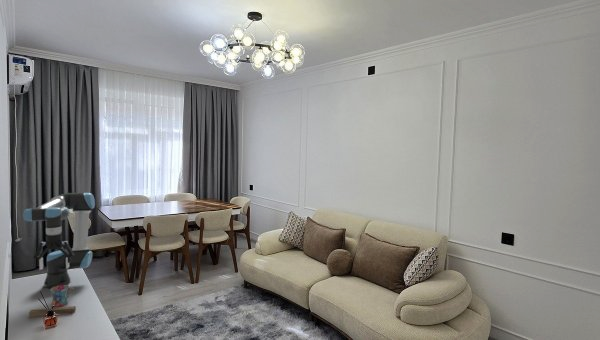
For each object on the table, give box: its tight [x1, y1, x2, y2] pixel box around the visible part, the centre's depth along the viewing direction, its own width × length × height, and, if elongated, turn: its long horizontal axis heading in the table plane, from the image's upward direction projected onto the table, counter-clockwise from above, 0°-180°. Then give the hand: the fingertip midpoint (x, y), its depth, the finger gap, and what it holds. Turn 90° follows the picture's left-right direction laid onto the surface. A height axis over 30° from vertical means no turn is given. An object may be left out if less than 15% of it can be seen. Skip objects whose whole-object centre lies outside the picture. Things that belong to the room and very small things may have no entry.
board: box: [28, 305, 77, 318], centre depth 191 cm, size 3×22×3 cm, turn 106°
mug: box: [49, 284, 75, 308], centre depth 203 cm, size 12×9×11 cm
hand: (54, 268), depth 197 cm, fingers open, 13 cm apart
